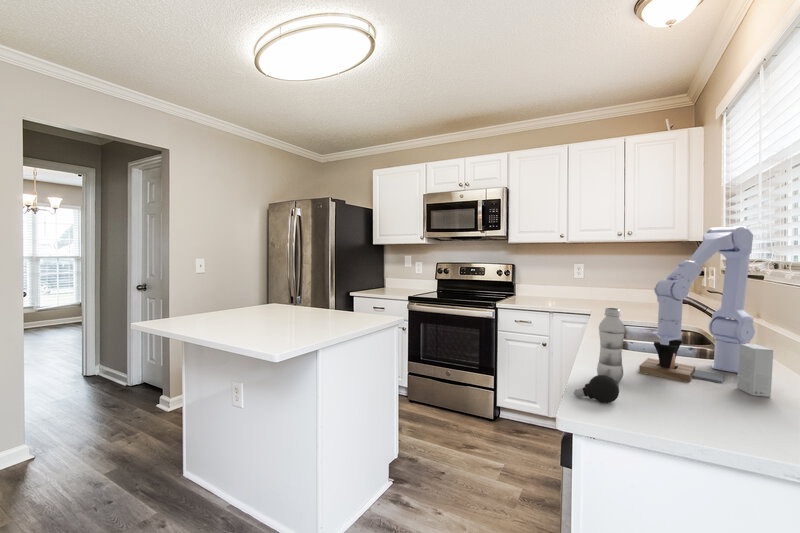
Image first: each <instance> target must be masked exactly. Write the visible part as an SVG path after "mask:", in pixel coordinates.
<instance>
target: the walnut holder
mask: <svg viewBox="0 0 800 533" xmlns="http://www.w3.org/2000/svg"><path fill="white" fill-rule="evenodd" d="M638 366H639V367H638V373H641V374H645V373H646V374H645V375H651V376H657V377H661V378H666V379H670V380H675V381H682V382H685V383H690V382H691V380H692V375H693V373H694V372H695V369H696V366H695V365H690V364H685V363H678V362H675V369H670V368H669V369H668V368H663V367H660V362H659V359H655V358H652V357H651V358H650V357H648V358H646V359H645V360H644V361H643V362H642V363H640V364H639V365H638Z"/></svg>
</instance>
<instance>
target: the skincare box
mask: <svg viewBox="0 0 800 533" xmlns="http://www.w3.org/2000/svg"><path fill="white" fill-rule="evenodd" d="M773 362H774V350H773V349H771V348H768V347H765V346H762V345H759V344H753V343H746V344H740V346H739V363H738V373H737V384H736V388H737V389H739V390H741V391H743V392H744V393H747V394H749V395H751V396H755V397H766V398H767V397H768V398H770V397H771V396H772V383H773V382H772V380H773V364H774V363H773Z"/></svg>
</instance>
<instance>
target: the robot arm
mask: <svg viewBox="0 0 800 533" xmlns="http://www.w3.org/2000/svg"><path fill="white" fill-rule="evenodd" d="M753 242H754V234H753V232H752V231H751V230H750V229H749V228H748V227H747V226H744V225H741V226H740V225H739V226H730V227H729V226H728V227H711V228H710V227H709V229H708V230H706V231H705V233H704V234H703V235H702V242H701V244H700V245H699V246H698V248H697V249H696V250H695V252H694V253H693V254H692V255H691V256H690V258H689V259H688V260H682V261H680V262H678V263H677V266H676V267H675V268H674V269H673V270H672V272H670V273H669V275H668V276H667V277H666V278H663V279H661V280H658V282H657V283H656V284H655V287H653V290H654V291H653V292H654V294H655V295H656V297H657V299H656V301H657V303H658V313H657V314H658V316H657V331H653V332H652V335H653V336H656V337H658V339H659V341H654V342H653V346H654V348H655V350H656V354H657V356H658V360H659V362H660V366H661V367H663V368H668V369H669V368H670V365H671V361H672V357H673V354H674V353H675V360H676V358H677V354H678V350H679V348H680V346H681V345H682V343H683V342H684V339H682V321H683V320H682V318H683V300H684V299H685V298H687V297H688V296H689V292H690V289H691V286H692V285H691V284H692V283H694V281H695V280H697V278H698V277H699V276H700V275H701V274H702V266H703V265H704V264H706V263H707V261H709V260H710V259H711V258H712V257H713V256H714V255H715V254H716V253H718V254H721V255H722V256H723V257H724V258H725V260H726V261H725V267H724V268H725V269H724V275H723V276H724V277H723V287H722V294H721V295H722V297H721V304H720V305H721V306H720V308H719V309H717V310H715V311H714V312H712V315H711V319H710V321H709V323H708V331H709V333H710V335H712V338H713V339H714V354H713V361H712V364H711V366H710V368H711V369H712V370H713V369H714V370H719V371H724V372H730V373H736V374H738V363H739V346H740V344H750V342H751V341H752V340H753V338H754V337H755V332H756V331H755V327H754V318H753V317H752V316H751V315H750V314H748V312H746V311H745V302H746V295H747V294H746V292H747V282H748V275H749V264H750V259H751V256H750V255H751V254H752V249H753Z"/></svg>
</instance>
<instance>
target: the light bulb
mask: <svg viewBox="0 0 800 533" xmlns="http://www.w3.org/2000/svg"><path fill="white" fill-rule="evenodd" d="M584 385H585V386H583V387H580V388H574V391H573V395H574V396H575V397H576V398H578V399H582V398H588V399H590V400H595V401H597V402H599V403H601V404H611V403H613V402H615V400H617V398H618V397H619V394H620V388H619V385H618V382H616V381H615V380H614V379H612V378H611V377H609V376H606V375H598V374H597V375H596V376H593V377H591V379H590V380H589V382H588V383H585V384H584Z"/></svg>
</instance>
